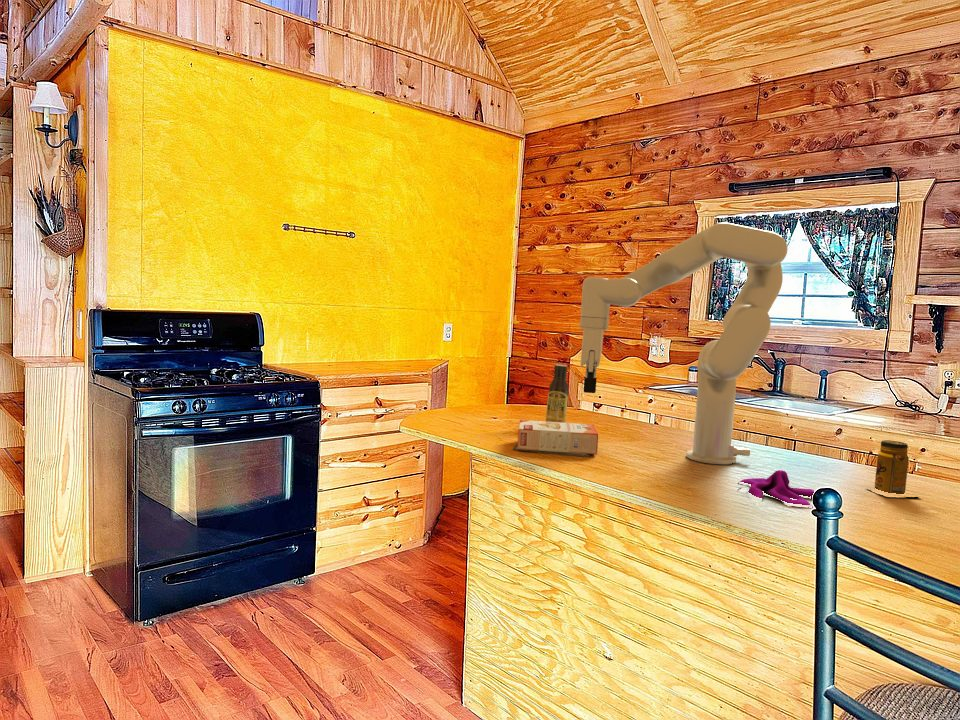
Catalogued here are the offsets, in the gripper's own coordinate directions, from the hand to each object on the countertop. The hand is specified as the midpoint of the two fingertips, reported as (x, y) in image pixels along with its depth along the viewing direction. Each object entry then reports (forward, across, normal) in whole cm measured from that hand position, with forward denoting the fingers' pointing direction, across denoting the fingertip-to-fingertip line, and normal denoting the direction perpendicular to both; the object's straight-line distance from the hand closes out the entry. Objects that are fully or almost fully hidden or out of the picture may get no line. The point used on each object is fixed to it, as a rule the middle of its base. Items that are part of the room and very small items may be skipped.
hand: (589, 392), depth 186 cm
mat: (+16, 0, -9) cm, 18 cm away
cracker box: (+12, 0, +3) cm, 13 cm away
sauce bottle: (+16, -28, -10) cm, 34 cm away
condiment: (+16, +18, +70) cm, 74 cm away
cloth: (+16, +29, +42) cm, 53 cm away
